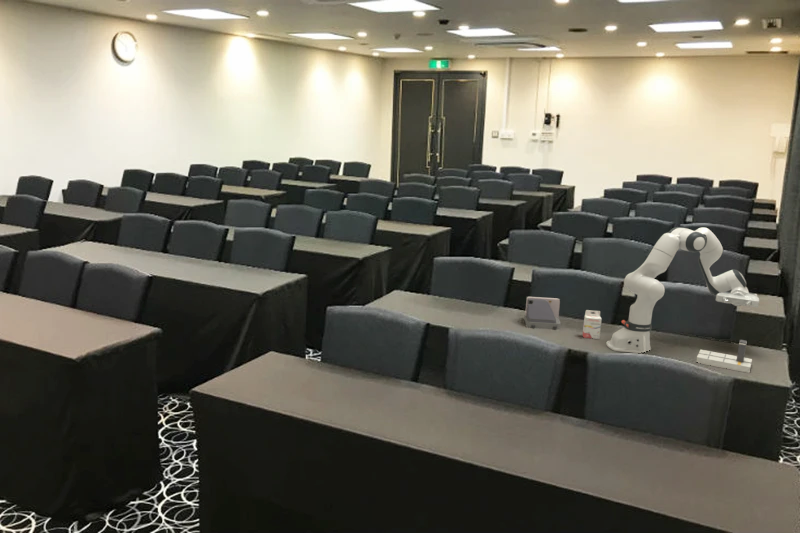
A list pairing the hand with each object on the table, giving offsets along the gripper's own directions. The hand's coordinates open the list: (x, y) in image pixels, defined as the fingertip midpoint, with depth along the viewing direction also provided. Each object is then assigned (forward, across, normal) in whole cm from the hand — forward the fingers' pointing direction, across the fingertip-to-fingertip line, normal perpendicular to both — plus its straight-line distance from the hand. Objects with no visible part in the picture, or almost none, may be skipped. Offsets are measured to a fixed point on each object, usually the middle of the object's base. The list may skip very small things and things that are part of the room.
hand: (736, 303), depth 351 cm
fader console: (+16, -1, +28) cm, 32 cm away
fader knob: (+16, +6, +27) cm, 32 cm away
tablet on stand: (+6, -98, +28) cm, 102 cm away
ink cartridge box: (+14, -68, +28) cm, 75 cm away
